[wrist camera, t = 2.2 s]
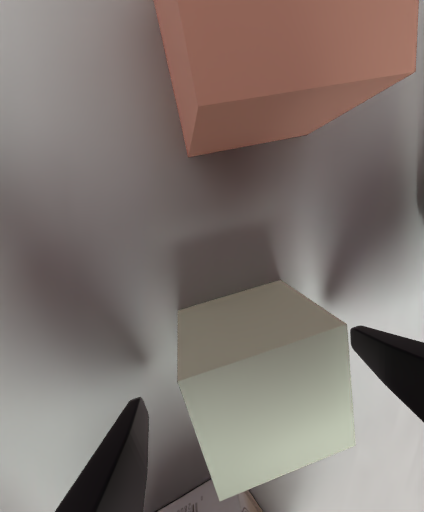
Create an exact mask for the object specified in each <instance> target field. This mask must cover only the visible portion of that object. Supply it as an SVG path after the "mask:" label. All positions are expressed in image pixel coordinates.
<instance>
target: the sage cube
mask: <svg viewBox="0 0 424 512" xmlns="http://www.w3.org/2000/svg"><path fill="white" fill-rule="evenodd" d="M177 382H178V385H179V388H180V390H181V393H182V396H183V399H184V402H185V405H186V407H187V410H188V413H189V416H190V419H191V422H192V424H193V427H194V430H195V433H196V436H197V439H198V441H199V444H200V447H201V450H202V453H203V456H204V458H205V461H206V464H207V467H208V470H209V473H210V475H211V478H212V481H213V484H214V487H215V490H216V492H217V495H218V498H219V501H222V500H225V499H227V498H229V497H232V496H234V495H237V494H239V493H242V492H244V491H246V490H249V489H251V488H254V487H256V486H259V485H261V484H263V483H266V482H268V481H271V480H273V479H276V478H278V477H280V476H283V475H285V474H288V473H290V472H293V471H295V470H297V469H300V468H302V467H305V466H307V465H310V464H312V463H314V462H317V461H319V460H322V459H324V458H327V457H329V456H331V455H334V454H336V453H339V452H341V451H344V450H346V449H348V448H351V447H353V446H355V431H354V417H353V403H352V389H351V375H350V360H349V346H348V332H347V324H346V323H344V322H343V321H341V320H340V319H338V318H337V317H335V316H334V315H332V314H331V313H329V312H328V311H326V310H325V309H323V308H322V307H320V306H319V305H317V304H316V303H314V302H313V301H311V300H310V299H308V298H307V297H305V296H304V295H303V294H301V293H300V292H298V291H297V290H295V289H294V288H292V287H291V286H289V285H288V284H286V283H285V282H283V281H282V280H278V281H274V282H271V283H268V284H264V285H261V286H258V287H254V288H251V289H248V290H244V291H241V292H238V293H234V294H231V295H228V296H224V297H221V298H218V299H214V300H211V301H208V302H204V303H201V304H198V305H194V306H191V307H188V308H185V309H181V310H178V353H177Z"/></svg>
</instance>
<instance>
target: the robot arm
mask: <svg viewBox="0 0 424 512" xmlns="http://www.w3.org/2000/svg"><path fill="white" fill-rule="evenodd" d="M350 335H351V346H352V348H353V349H354V351H355V352H356V353H357V354H358V355H359V356H360V357H361V359H362V360H363V361H364V362H365V363H366V364H367V365H368V366H369V367H370V369H371V370H372V371H373V372H374V373H375V374H376V375H377V376H378V378H379V379H380V380H381V381H382V382H383V383H384V384H385V385H386V386H387V387H388V388H389V389H390V390H391V391H392V392H393V393H394V394H395V395H396V396H397V397H398V398H399V399H400V400H401V401H402V402H403V403H404V404H405V405H406V406H407V407H409V408H410V409H411V410H412V411H413V412H414V413H415V414H416V415H417V416H418V417H419V418H420V419H421V420H422V421H423V422H424V343H423V342H419V341H416V340H412V339H408V338H405V337H401V336H397V335H394V334H390V333H386V332H383V331H379V330H376V329H372V328H368V327H365V326H356V327H353V328H351V330H350ZM148 432H149V415H148V411H147V409H146V406H145V404H144V401H143V399H142V398H141V397H138V398H135V399H132V400H130V401H129V402H128V404H127V405H126V407H125V408H124V410H123V411H122V413H121V414H120V416H119V417H118V419H117V420H116V422H115V423H114V425H113V426H112V428H111V429H110V431H109V432H108V434H107V435H106V436H105V438H104V439H103V441H102V442H101V444H100V445H99V447H98V448H97V450H96V451H95V453H94V454H93V456H92V457H91V459H90V460H89V462H88V463H87V465H86V466H85V468H84V469H83V471H82V472H81V474H80V475H79V477H78V478H77V480H76V481H75V483H74V484H73V486H72V487H71V488H70V490H69V491H68V493H67V494H66V496H65V497H64V499H63V500H62V502H61V503H60V505H59V506H58V508H57V509H56V511H55V512H143V507H144V498H145V489H146V480H147V467H148Z"/></svg>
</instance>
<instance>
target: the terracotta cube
mask: <svg viewBox="0 0 424 512" xmlns="http://www.w3.org/2000/svg"><path fill="white" fill-rule="evenodd" d="M418 4H419V0H154V5H155V9H156V14H157V18H158V23H159V27H160V32H161V36H162V41H163V45H164V50H165V54H166V59H167V64H168V68H169V73H170V77H171V82H172V86H173V91H174V95H175V100H176V104H177V109H178V113H179V118H180V122H181V127H182V132H183V136H184V141H185V145H186V150H187V154H188V157H193V156H198V155H203V154H209V153H214V152H219V151H225V150H230V149H235V148H241V147H246V146H251V145H257V144H262V143H267V142H273V141H278V140H283V139H288V138H294V137H299V136H304V135H308V134H310V133H311V132H313V131H315V130H317V129H318V128H320V127H322V126H323V125H325V124H327V123H329V122H330V121H332V120H334V119H335V118H337V117H339V116H341V115H342V114H344V113H346V112H347V111H349V110H351V109H353V108H354V107H356V106H358V105H359V104H361V103H363V102H365V101H366V100H368V99H370V98H371V97H373V96H375V95H377V94H378V93H380V92H382V91H383V90H385V89H387V88H389V87H390V86H392V85H394V84H395V83H397V82H399V81H401V80H402V79H404V78H406V77H407V76H409V75H411V74H413V73H414V72H415V71H416V49H417V26H418Z"/></svg>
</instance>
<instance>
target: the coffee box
mask: <svg viewBox="0 0 424 512" xmlns="http://www.w3.org/2000/svg"><path fill="white" fill-rule="evenodd" d="M157 512H263V511H262V510H261V508H260V507H259V505H258V504H257V502H256V501H255V499H254V498H253V496H252V495H251V493H250V492H249V491H248V490H246V491H244V492H242V493H239V494H237V495H234V496H232V497H229V498H227V499H225V500H222V501H219V498H218V495H217V492H216V490H215V487H214V484H213V481H212V479H211V480H209V481H208V482H206V483H204V484H202V485H201V486H199V487H197V488H196V489H194V490H193V491H191V492H189V493H188V494H186V495H184V496H183V497H181V498H179V499H178V500H176V501H174V502H173V503H171V504H169V505H168V506H166V507H164V508H162V509H161V510H159V511H157Z"/></svg>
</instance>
